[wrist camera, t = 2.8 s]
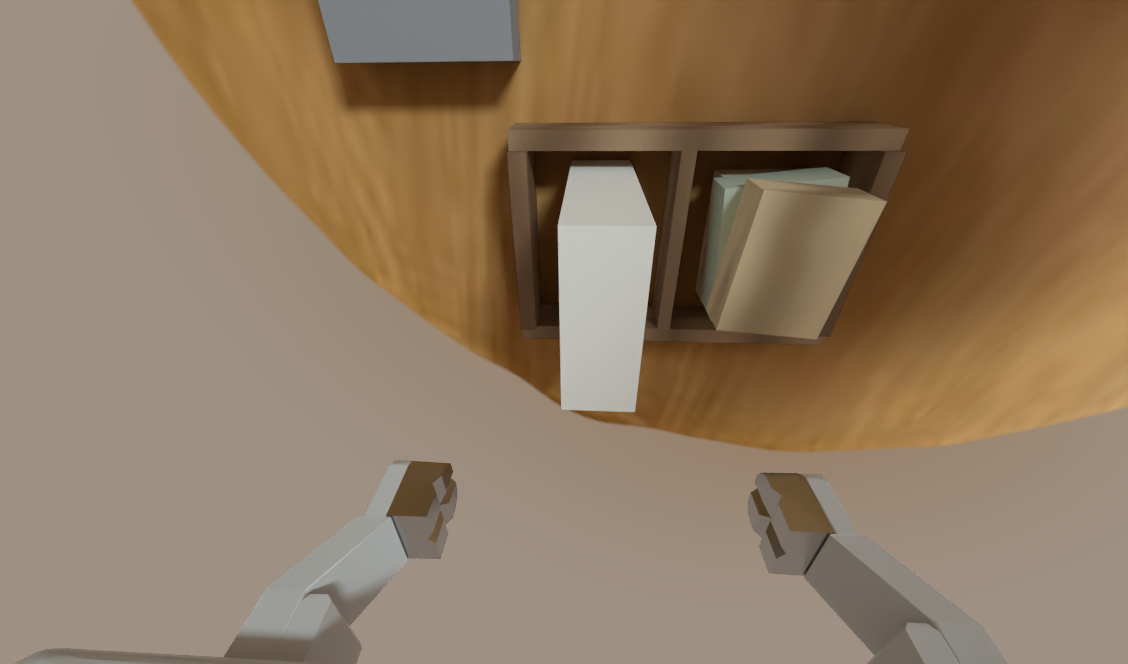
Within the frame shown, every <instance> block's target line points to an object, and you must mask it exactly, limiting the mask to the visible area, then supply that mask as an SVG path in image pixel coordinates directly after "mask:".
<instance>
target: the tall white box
mask: <svg viewBox="0 0 1128 664" xmlns="http://www.w3.org/2000/svg"><path fill="white" fill-rule="evenodd" d="M656 228H657V226H656V223H655V221H654V218H653V216H652V213H651V211H650V208H649V206H648V203H647V201H646V198H645V196H644V193H643V191H642V188H641V186H640V183H639V181H638V178H637V176H636V173H635V171H634V168H633V166H632V163H631V161H630V160H572V162H571V166H570V171H569V175H568V180H567V185H566V189H565V194H564V199H563V203H562V208H561V212H560V217H559V222H558V267H559V319H560V371H561V410H586V411H616V412H635V407H636V399H637V390H638V382H639V373H640V364H641V356H642V347H643V339H644V330H645V322H646V313H647V305H648V296H649V288H650V279H651V270H652V262H653V253H654V245H655V236H656Z"/></svg>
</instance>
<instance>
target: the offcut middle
mask: <svg viewBox="0 0 1128 664" xmlns="http://www.w3.org/2000/svg"><path fill="white" fill-rule="evenodd" d="M747 178H753V179H764V180H774V181H785V182H796V183H806V184H817V185H828V186H838V187H848V183H849V179H850V177H849V176H847V175H844V174H842V173H840V172H837V171H835V170H833V169H830V168H828V167H820V168H810V169H800V170H790V171H780V172H769V173H759V174H749V175H739V176H729V177H719V178H713V186H712V197H711V209H710V221H709V232H708V244H707V255H706V267H705V278H704V290H703V302H702V303H703V305H704V307H705V309H706V307H707V304H708V301H709V298H710V294H711V291H712V288H713V285H714V282H715V278H716V275H717V272H718V269H719V266H720V262H721V259H722V256H723V253H724V250H725V246H726V243H727V240H728V237H729V234H730V230H731V227H732V224H733V221H734V218H735V214H736V211H737V208H738V205H739V202H740V199H741V195H742V192H743V189H744V186H745V183H746V179H747ZM706 311H707V309H706ZM707 313H708V311H707ZM708 315H709V313H708ZM709 318H710V316H709ZM710 320H711V318H710ZM711 322H712V320H711Z"/></svg>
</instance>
